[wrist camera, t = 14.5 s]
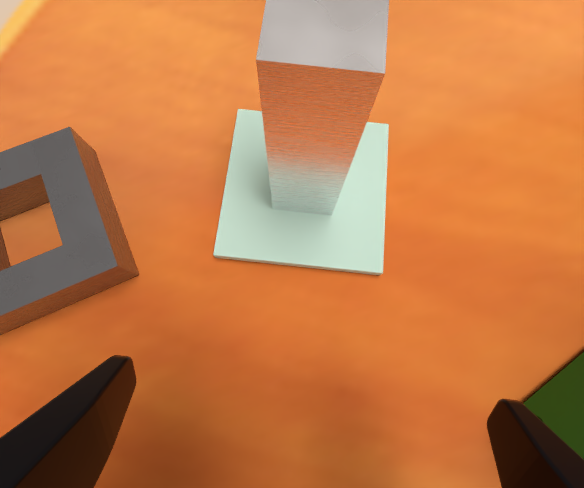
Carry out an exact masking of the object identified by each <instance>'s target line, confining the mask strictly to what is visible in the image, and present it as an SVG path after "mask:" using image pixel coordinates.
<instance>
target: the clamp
mask: <svg viewBox="0 0 584 488" xmlns="http://www.w3.org/2000/svg"><path fill="white" fill-rule="evenodd" d="M523 404H524V405H525V406H526V407H527V408H528V409H529V410H530V411H531V412H532V413H534V414H535V415H536V416H537V417H538V418H539V419H540V420H541V421H542V422H543V423H544V424H546V425H547V426H548V427H549V428H550V429H551V430H552V431H553V432H554V433H555V434H556V435H558V436H559V437H560V438H561V439H562V440H563V441H564V442H565V443H566V444H567V445H568V446H570V447H571V448H572V449H573V450H574V451H575V452H576V453H577V454H578V455H579V456H580V457H582V458H583V459H584V352H583V353H582V354H581V355H579V356H578V357H577V358H576V359H575V360H574V361H572V362H571V363H570V364H569V365H568V366H567V367H565V368H564V369H563V370H562V371H561V372H559V373H558V374H557V375H556V376H555V377H554V378H552V379H551V380H550V381H549V382H548V383H547V384H545V385H544V386H543V387H542V388H541V389H540V390H538V391H537V392H536V393H535V394H534V395H532V396H531V397H530V398H529V399H528V400H527V401H525V402H524V403H523Z"/></svg>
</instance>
